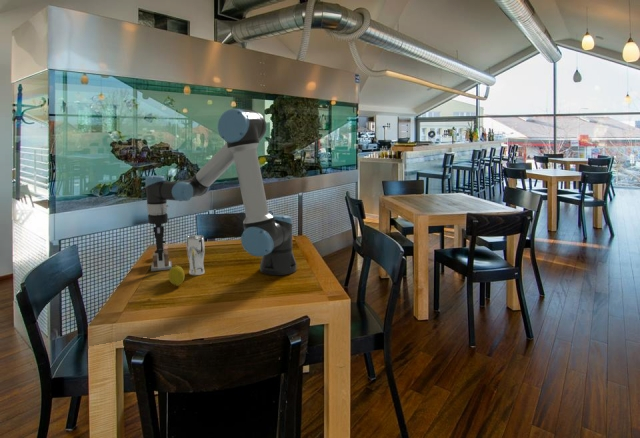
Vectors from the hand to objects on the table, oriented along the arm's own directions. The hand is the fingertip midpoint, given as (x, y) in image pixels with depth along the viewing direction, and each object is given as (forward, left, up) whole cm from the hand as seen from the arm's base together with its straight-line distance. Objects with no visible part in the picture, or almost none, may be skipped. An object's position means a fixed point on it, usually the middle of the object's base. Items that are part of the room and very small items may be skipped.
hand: (161, 263), depth 178 cm
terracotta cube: (+14, -1, -2) cm, 14 cm away
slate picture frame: (0, 0, -2) cm, 2 cm away
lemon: (-26, -6, -2) cm, 27 cm away
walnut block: (0, 0, -1) cm, 1 cm away
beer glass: (-13, -14, -2) cm, 19 cm away
